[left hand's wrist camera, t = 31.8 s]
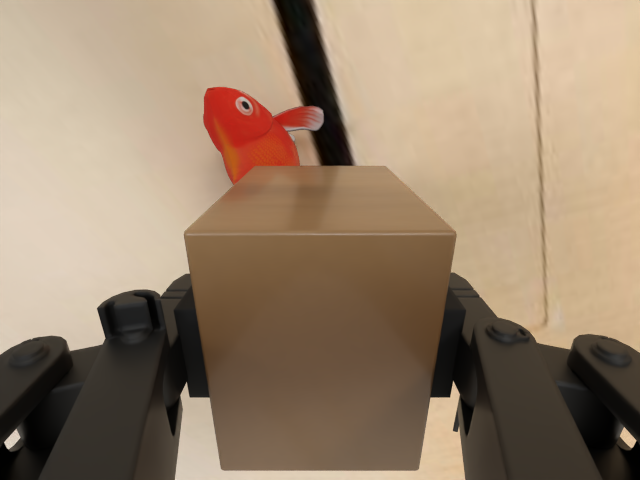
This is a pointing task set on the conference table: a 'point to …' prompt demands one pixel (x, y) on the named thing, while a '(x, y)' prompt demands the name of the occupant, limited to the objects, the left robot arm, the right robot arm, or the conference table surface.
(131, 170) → the conference table surface
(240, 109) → the fish
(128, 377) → the left robot arm
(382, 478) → the conference table surface
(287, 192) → the block
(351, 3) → the conference table surface
